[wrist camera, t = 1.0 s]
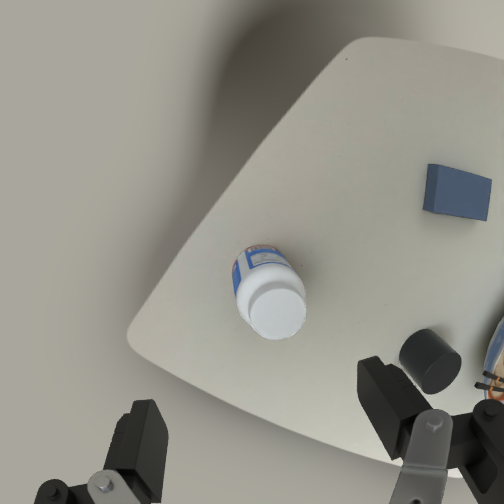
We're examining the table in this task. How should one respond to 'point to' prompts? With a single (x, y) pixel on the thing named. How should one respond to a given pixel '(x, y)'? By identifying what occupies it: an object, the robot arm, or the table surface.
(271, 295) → the pill bottle
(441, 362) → the black cylinder
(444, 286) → the table surface
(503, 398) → the ramen bowl
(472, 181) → the blue rectangular block
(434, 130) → the table surface
